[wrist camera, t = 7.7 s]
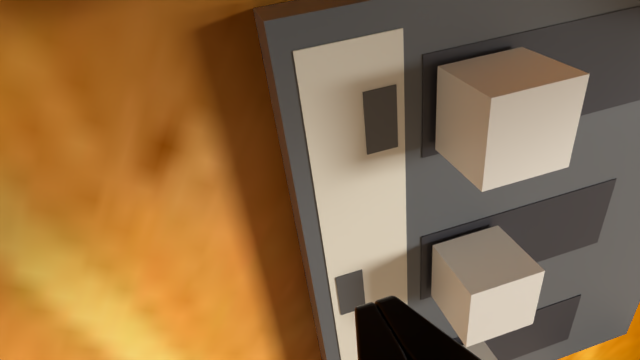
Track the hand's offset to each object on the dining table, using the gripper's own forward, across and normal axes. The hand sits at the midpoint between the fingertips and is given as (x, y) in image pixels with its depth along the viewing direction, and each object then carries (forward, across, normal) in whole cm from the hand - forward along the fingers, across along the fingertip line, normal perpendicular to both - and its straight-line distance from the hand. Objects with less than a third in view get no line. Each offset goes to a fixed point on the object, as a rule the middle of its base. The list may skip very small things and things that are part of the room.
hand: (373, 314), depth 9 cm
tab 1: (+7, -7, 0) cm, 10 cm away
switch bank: (+10, -10, +8) cm, 16 cm away
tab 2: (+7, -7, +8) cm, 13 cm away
